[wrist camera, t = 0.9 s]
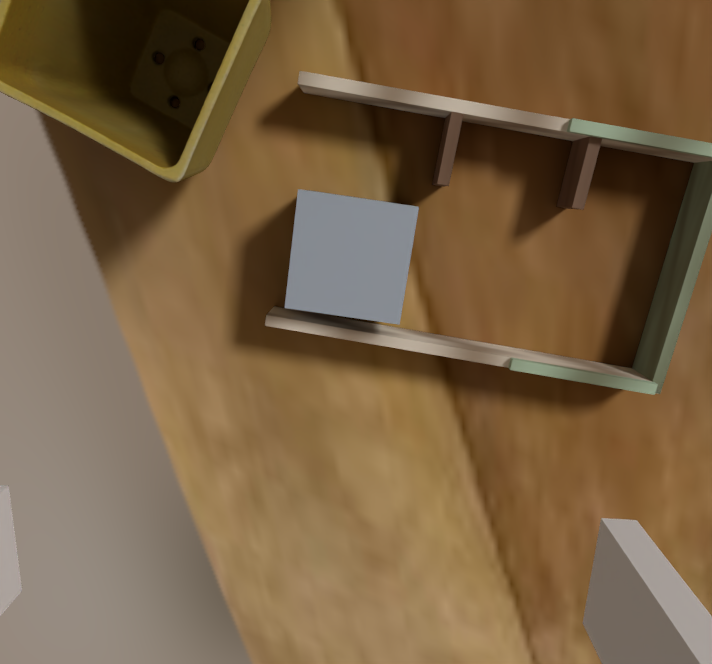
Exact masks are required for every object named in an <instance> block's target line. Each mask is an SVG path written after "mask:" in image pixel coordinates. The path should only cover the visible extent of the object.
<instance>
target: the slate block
mask: <svg viewBox="0 0 712 664" xmlns="http://www.w3.org/2000/svg"><path fill="white" fill-rule="evenodd" d="M418 209H419V207H417V206H411V205H405V204H398V203H391V202H384V201H377V200H370V199H364V198H357V197H350V196H343V195H336V194H329V193H323V192H316V191H309V190H300V189H298V194H297V203H296V212H295V221H294V229H293V238H292V247H291V256H290V265H289V273H288V282H287V291H286V300H285V308H288V309H295V310H302V311H309V312H316V313H323V314H330V315H337V316H343V317H350V318H357V319H364V320H371V321H378V322H385V323H392V324H400V318H401V312H402V306H403V300H404V294H405V288H406V282H407V276H408V270H409V264H410V258H411V252H412V246H413V239H414V233H415V227H416V221H417V215H418Z"/></svg>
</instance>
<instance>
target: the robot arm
mask: <svg viewBox="0 0 712 664" xmlns="http://www.w3.org/2000/svg"><path fill="white" fill-rule="evenodd" d="M21 591H22V587H21V579H20V571H19V563H18V555H17V547H16V540H15V532H14V524H13V516H12V509H11V501H10V494H9V486H3V485H0V616H1V614H2V613H3V612H4V611H5V610H6V609H7V608H8V606H9V605H10V604H11V603H12V602H13V601H14V599H15V598H16V597H17V596H18V595H19V594H20V592H21ZM583 625H584V627H585V629H586V631H587V633H588V635H589V637H590V639H591V642H592V644H593V646H594V648H595V650H596V652H597V654H598V656H599V658H600V660H601V663H602V664H712V616H711V615H710V614H709V612H708V611H707V610H706V609H705V607H704V606H703V605H702V603H701V602H700V601H699V600H698V598H697V597H696V596H695V594H694V593H693V592H692V591H691V589H690V588H689V587H688V586H687V584H686V583H685V582H684V580H683V579H682V578H681V577H680V575H679V574H678V573H677V571H676V570H675V569H674V568H673V566H672V565H671V564H670V562H669V561H668V560H667V559H666V557H665V556H664V555H663V553H662V552H661V551H660V550H659V548H658V547H657V546H656V545H655V543H654V542H653V541H652V539H651V538H650V537H649V536H648V534H647V533H646V532H645V530H644V529H643V528H642V527H641V525H640V524H639V523H638V521H637V520H624V519H606V518H601V522H600V528H599V534H598V539H597V545H596V551H595V556H594V562H593V568H592V573H591V579H590V585H589V591H588V596H587V602H586V608H585V613H584V619H583Z"/></svg>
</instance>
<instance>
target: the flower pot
mask: <svg viewBox="0 0 712 664" xmlns="http://www.w3.org/2000/svg"><path fill="white" fill-rule="evenodd" d="M270 28H271V8H270V0H0V92H2V93H4V94H5V95H7V96H9V97H11V98H13V99H16V100H18V101H20V102H22V103H24V104H26V105H28V106H30V107H32V108H34V109H36V110H38V111H40V112H41V113H43V114H45V115H47V116H49V117H51V118H53V119H55V120H57V121H59V122H61V123H63V124H65V125H67V126H69V127H71V128H73V129H75V130H76V131H78V132H80V133H82V134H84V135H85V136H87V137H89V138H91V139H93V140H95V141H96V142H98V143H100V144H102V145H103V146H105V147H107V148H109V149H111V150H113V151H114V152H116V153H118V154H120V155H122V156H123V157H125V158H127V159H129V160H130V161H132V162H134V163H136V164H138V165H139V166H141V167H143V168H144V169H146V170H148V171H150V172H151V173H153V174H155V175H157V176H159V177H160V178H162V179H165V180H167V181H169V182H179V181H181V180H184V179H186V178H189V177H191V176H194V175H196V174H198V173H200V172H202V171H204V170H205V169H206V168H207V167H208V166H209V164H210V163H211V161H212V159H213V157H214V155H215V152H216V150H217V148H218V146H219V143H220V141H221V139H222V137H223V134H224V132H225V130H226V127H227V125H228V123H229V121H230V118H231V116H232V114H233V112H234V109H235V107H236V105H237V103H238V100H239V98H240V96H241V94H242V92H243V89H244V87H245V85H246V83H247V81H248V79H249V76H250V74H251V72H252V70H253V68H254V66H255V63H256V61H257V59H258V57H259V55H260V53H261V51H262V49H263V47H264V45H265V43H266V40H267V38H268V35H269V32H270ZM197 39H202V40H203V41H204V42H205V47H204V49H203V50H197V49H196V48H195V41H196V40H197ZM157 53H162V54H163V55H164V62H163V63H162V64H157V63H156V62H155V60H154V57H155V54H157ZM210 85H212V86H211V88H210V91H209V87H210ZM172 97H177V98H178V99H179V100H180V105H179V106H178V107H177V108H173V107H172V106H171V105H170V99H171V98H172Z"/></svg>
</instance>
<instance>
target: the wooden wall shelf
mask: <svg viewBox="0 0 712 664" xmlns="http://www.w3.org/2000/svg"><path fill="white" fill-rule="evenodd" d="M298 85H299V86H300V88H301V89H302V91H303V92H304V93H307V94H313V95H319V96H324V97H330V98H335V99H341V100H347V101H352V102H358V103H363V104H369V105H374V106H380V107H386V108H391V109H397V110H402V111H408V112H414V113H419V114H425V115H430V116H436V117H441V118H445V122H444V127H443V132H442V137H441V142H440V147H439V152H438V157H437V162H436V167H435V172H434V177H433V183H432V185H437V186H449V183H450V178H451V173H452V168H453V163H454V158H455V153H456V148H457V144H458V139H459V134H460V129H461V124H462V121H464V122H469V123H475V124H481V125H486V126H492V127H497V128H503V129H508V130H514V131H520V132H525V133H531V134H536V135H542V136H548V137H553V138H559V139H564V140H570V141H573V142H572V146H571V150H570V154H569V158H568V162H567V166H566V170H565V174H564V178H563V182H562V186H561V190H560V194H559V198H558V202H557V206H556V207H562V208H568V209H583V210H584V206H585V202H586V198H587V195H588V191H589V187H590V183H591V179H592V176H593V172H594V168H595V164H596V160H597V157H598V153H599V149H600V146H603V147H609V148H615V149H620V150H626V151H631V152H637V153H642V154H648V155H654V156H659V157H665V158H670V159H676V160H682V161H687V162H693V163H694V165H693V168H692V172H691V175H690V178H689V181H688V185H687V188H686V191H685V195H684V198H683V201H682V205H681V208H680V211H679V214H678V218H677V221H676V224H675V228H674V231H673V234H672V238H671V241H670V244H669V248H668V251H667V254H666V257H665V261H664V264H663V267H662V271H661V274H660V277H659V281H658V284H657V287H656V290H655V294H654V297H653V300H652V304H651V307H650V310H649V314H648V317H647V320H646V324H645V327H644V330H643V333H642V337H641V340H640V343H639V347H638V350H637V353H636V357H635V360H634V363H633V366H632V368H628V367H622V366H616V365H611V364H605V363H599V362H593V361H588V360H582V359H576V358H570V357H564V356H559V355H553V354H547V353H541V352H536V351H530V350H524V349H518V348H512V347H507V346H501V345H495V344H489V343H484V342H478V341H472V340H466V339H460V338H455V337H449V336H443V335H437V334H432V333H426V332H420V331H414V330H409V329H403V328H397V327H391V326H385V325H380V324H374V323H368V322H362V321H357V320H351V319H345V318H339V317H333V316H328V315H322V314H316V313H310V312H305V311H299V310H293V309H287V308H281V307H276V306H274V307H273V308H272V309H271V310H270V311H269V313H268V314H267V315H266V321H265V326H270V327H275V328H281V329H287V330H293V331H299V332H304V333H310V334H316V335H322V336H328V337H333V338H339V339H345V340H351V341H357V342H362V343H368V344H374V345H380V346H386V347H391V348H397V349H403V350H409V351H415V352H420V353H426V354H432V355H438V356H444V357H449V358H455V359H461V360H467V361H472V362H478V363H484V364H490V365H496V366H501V367H507V368H509V369H510V370H514V371H519V372H525V373H531V374H537V375H543V376H548V377H554V378H560V379H566V380H572V381H577V382H583V383H589V384H595V385H601V386H606V387H612V388H618V389H624V390H630V391H635V392H641V393H647V394H653V395H655V393H658V394H660V392H661V389H662V386H663V383H664V380H665V377H666V374H667V370H668V367H669V364H670V361H671V358H672V355H673V352H674V348H675V345H676V342H677V339H678V336H679V333H680V330H681V327H682V323H683V320H684V317H685V314H686V311H687V308H688V305H689V301H690V298H691V295H692V292H693V289H694V286H695V283H696V279H697V276H698V273H699V270H700V267H701V264H702V261H703V258H704V254H705V251H706V248H707V245H708V242H709V239H710V236H711V232H712V143H707V142H702V141H696V140H691V139H685V138H680V137H674V136H668V135H663V134H657V133H652V132H646V131H641V130H635V129H629V128H624V127H618V126H613V125H607V124H602V123H596V122H591V121H585V120H579V119H574V118H572V119H565V118H559V117H554V116H548V115H543V114H537V113H532V112H526V111H520V110H515V109H509V108H504V107H498V106H493V105H487V104H482V103H476V102H470V101H465V100H459V99H454V98H448V97H443V96H437V95H431V94H426V93H420V92H415V91H409V90H404V89H398V88H392V87H387V86H381V85H376V84H370V83H365V82H359V81H354V80H348V79H342V78H337V77H331V76H326V75H320V74H315V73H309V72H303V71H300V72H299V79H298Z"/></svg>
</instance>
